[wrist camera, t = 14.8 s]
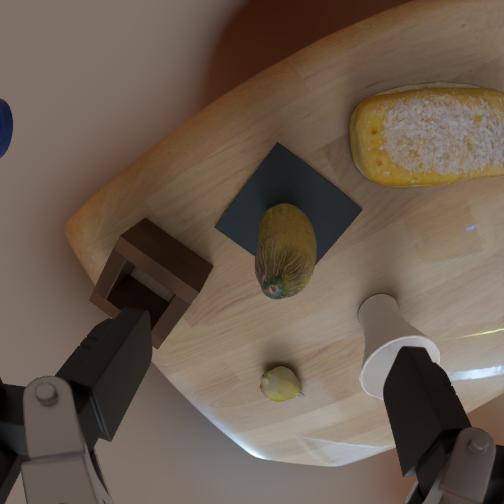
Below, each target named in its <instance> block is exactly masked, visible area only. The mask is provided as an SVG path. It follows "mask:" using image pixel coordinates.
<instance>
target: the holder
mask: <svg viewBox="0 0 504 504" xmlns="http://www.w3.org/2000/svg"><path fill="white" fill-rule="evenodd" d="M134 266H137V267H138V268H139V269H141V270H142V271H144V272H145V273H146V274H148V275H149V276H151V277H152V278H153V279H155V280H156V281H158V282H159V283H160V284H162V285H163V286H165V287H166V288H167V289H169V290H170V291H172V292H173V293H175V295H174V296H173V298H172V299H171V301H170V302H169V303H168V302H167V301H165V300H164V299H162V298H161V297H160V296H158V295H157V294H155V293H154V292H152V291H151V290H150V289H148V288H147V287H145V286H144V285H143V284H141V283H140V282H139V281H137V280H136V279H134V278H133V277H132V276H130V273H131V271H132V269H133V268H134ZM212 268H213V266H212V265H211V264H210V263H208V262H207V261H205V260H204V259H202V258H201V257H200V256H198V255H197V254H195V253H194V252H193V251H191V250H190V249H188V248H187V247H185V246H184V245H183V244H181V243H180V242H178V241H177V240H176V239H174V238H173V237H171V236H170V235H169V234H167V233H166V232H164V231H163V230H162V229H160V228H159V227H157V226H156V225H155V224H153V223H152V222H151V221H149V220H148V219H146V218H144V219H143V220H141V221H140V222H139V223H137V224H136V225H134V226H133V227H131V228H130V229H129V230H127V231H126V232H124V233H123V234H122V235H120V236H119V238H118V240H117V242H116V244H115V246H114V248H113V250H112V252H111V254H110V257H109V259H108V261H107V263H106V265H105V267H104V269H103V271H102V273H101V275H100V278H99V280H98V282H97V284H96V286H95V289H94V291H93V293H92V295H91V297H90V300H89V301H91V302H92V303H93V304H94V305H96V306H97V307H98V308H100V309H101V310H102V311H104V312H105V313H107V314H108V315H109V316H110V317H112V318H113V319H115V318H116V317H117V315H118V314H119V313H120V312H121V310H122V309H123V308H124V307H131V308H136V309H140V310H145V311H148V312H149V314H150V323H151V338H152V346H153V347H155V348H156V349H158V348H159V347H160V346H161V344H162V343H163V342H164V340H165V339H166V338H167V336H168V335H169V334H170V332H171V331H172V329H173V328H174V327H175V325H176V324H177V323H178V321H179V320H180V319H181V317H182V316H183V315H184V313H185V312H186V311H187V309H188V308H189V307H190V305H191V304H192V303H193V301H194V300H195V299H196V297H197V296H198V294H199V293H200V291H201V289H202V287H203V285H204V283H205V281H206V280H207V278H208V276H209V274H210V272H211V270H212Z"/></svg>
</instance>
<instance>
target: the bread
mask: <svg viewBox="0 0 504 504" xmlns="http://www.w3.org/2000/svg"><path fill="white" fill-rule="evenodd" d="M349 135H350V144H351V153H352V159H353V162H354V163H355V165H356V167H357V168H358V170H359V171H360V172H361V173H362V174H363V175H364V176H365V177H367V178H368V179H369V180H371V181H372V182H375V183H378V184H381V185H384V186H391V187H397V188H401V187H413V186H436V185H442V184H449V185H450V184H451V183H452V182H461V181H468V180H471V179H476V178H481V177H494V176H504V93H503V92H501V91H498V90H495V89H488V88H483V87H478V86H476V85H472V84H461V83H445V82H435V83H425V84H417V85H406V86H401V87H397V88H394V89H390V90H386V91H383V92H380V93H377V94H375V95H373V96H370V97H368V98H366V99H365V100H363V101H362V102H361V103H360V104H359V105H358V106H356V108H355V110H354V111H353V113H352V115H351V118H350V127H349Z"/></svg>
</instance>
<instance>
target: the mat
mask: <svg viewBox="0 0 504 504" xmlns="http://www.w3.org/2000/svg"><path fill="white" fill-rule="evenodd" d="M284 203H287V204H291V205H294V206H295V207H297V208H299V209H300V210H301V211H302V212H303V213H304V214H305V215H306V216H307V217H308V219H309V220H310V222H311V224H312V226H313V229H314V233H315V238H316V244H317V252H316V262H315V265H316V264H317V263H318V261H319V260H320V259H321V258H322V257H323V256H324V255H325V253H326V252H327V251H328V250H329V249H330V248H331V246H332V245H333V244H334V243H335V242H336V241H337V239H338V238H339V237H340V236H341V235H342V234H343V232H344V231H345V230H346V229H347V228H348V227H349V225H350V224H351V223H352V222H353V221H354V219H355V218H356V217H357V216H358V215H359V213H360V212H361V211H362V209H361V208H360V207H359V206H358V205H357V204H356V203H354V202H353V201H352V200H351V199H350V198H348V197H347V196H346V195H345V194H344V193H342V192H341V191H340V190H339V189H337V188H336V187H335V186H334V185H332V184H331V183H330V182H329V181H327V180H326V179H325V178H324V177H322V176H321V175H320V174H319V173H317V172H316V171H315V170H314V169H312V168H311V167H310V166H308V165H307V164H306V163H304V162H303V161H302V160H301V159H299V158H298V157H297V156H295V155H294V154H293V153H291V152H290V151H289V150H287V149H286V148H284V147H283V146H282V145H280V144H279V143H278V142H277V143H276V145H275V146H274V147H273V149H272V150H271V151H270V153H269V154H268V155H267V157H266V158H265V159H264V161H263V162H262V163H261V165H260V166H259V167H258V169H257V170H256V171H255V173H254V174H253V175H252V177H251V178H250V179H249V181H248V182H247V183H246V185H245V186H244V188H243V189H242V190H241V192H240V193H239V194H238V196H237V197H236V199H235V200H234V201H233V203H232V204H231V205H230V207H229V208H228V210H227V211H226V212H225V214H224V215H223V217H222V218H221V219H220V221H219V222H218V224H217V225H216V226H215V228H216V229H217V230H219V231H220V232H222V233H223V234H224V235H226V236H227V237H229V238H230V239H231V240H233V241H234V242H236V243H237V244H239V245H240V246H241V247H243V248H244V249H246V250H247V251H248V252H250V253H251V254H253V255H254V256H256V248H257V242H258V234H259V225H260V221H261V218H262V216H263V214H264V213H265V212H266V211H267V210H268V209H270V208H272V207H274V206H276V205H279V204H284Z"/></svg>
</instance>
